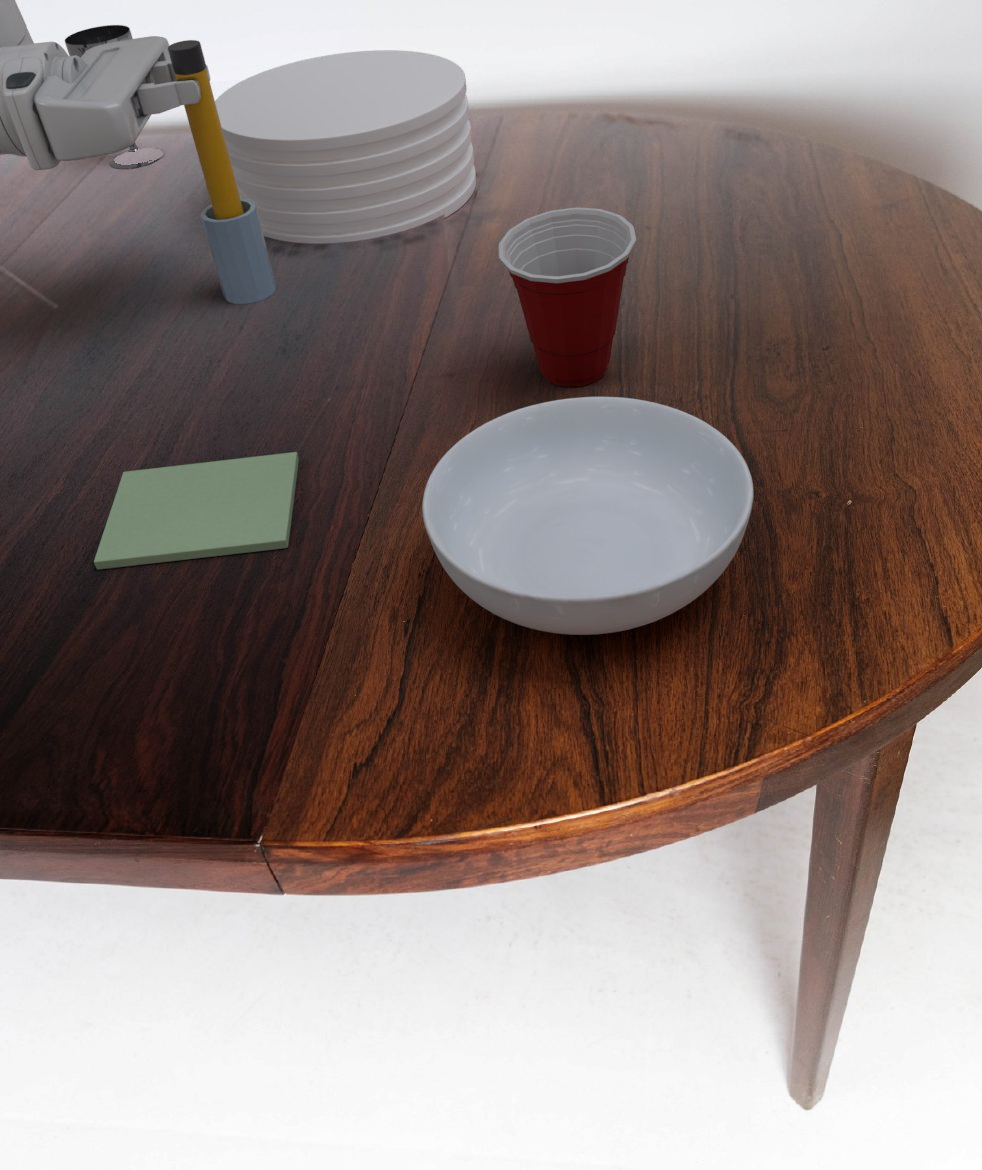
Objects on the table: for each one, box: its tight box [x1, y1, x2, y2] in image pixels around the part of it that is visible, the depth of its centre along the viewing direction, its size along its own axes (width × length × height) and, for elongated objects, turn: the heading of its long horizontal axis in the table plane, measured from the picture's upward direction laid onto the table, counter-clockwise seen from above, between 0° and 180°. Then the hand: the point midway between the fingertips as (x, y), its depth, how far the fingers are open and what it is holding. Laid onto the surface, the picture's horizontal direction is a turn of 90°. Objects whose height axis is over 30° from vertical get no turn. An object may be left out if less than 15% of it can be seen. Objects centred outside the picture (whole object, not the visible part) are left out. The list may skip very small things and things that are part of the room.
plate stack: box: [215, 49, 477, 244], centre depth 119 cm, size 28×28×12 cm
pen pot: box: [199, 199, 277, 305], centre depth 103 cm, size 5×5×9 cm
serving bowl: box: [421, 396, 754, 636], centre depth 69 cm, size 21×21×7 cm
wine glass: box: [64, 24, 157, 170], centre depth 134 cm, size 8×8×15 cm
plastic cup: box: [498, 207, 637, 388], centre depth 86 cm, size 11×11×12 cm
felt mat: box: [93, 451, 300, 571], centre depth 80 cm, size 14×11×1 cm
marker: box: [168, 39, 244, 220], centre depth 95 cm, size 3×3×16 cm
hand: (203, 82), depth 92 cm, fingers closed on marker, 3 cm apart
